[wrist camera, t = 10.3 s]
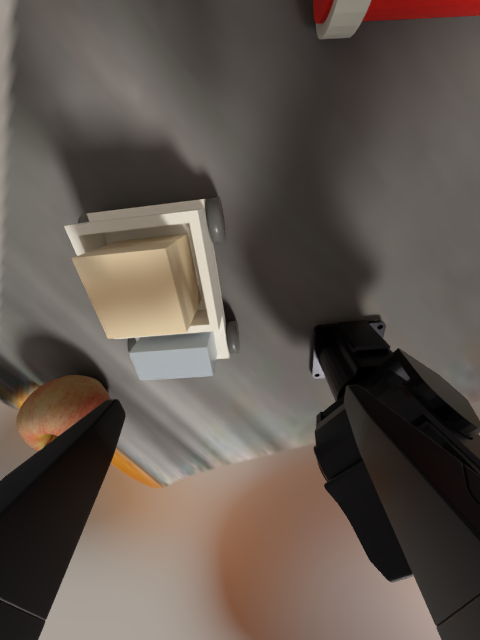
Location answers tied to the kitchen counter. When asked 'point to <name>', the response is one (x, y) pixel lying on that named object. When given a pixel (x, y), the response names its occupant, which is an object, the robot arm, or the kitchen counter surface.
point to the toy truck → (209, 320)
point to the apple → (58, 408)
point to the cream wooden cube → (142, 285)
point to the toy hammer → (382, 13)
